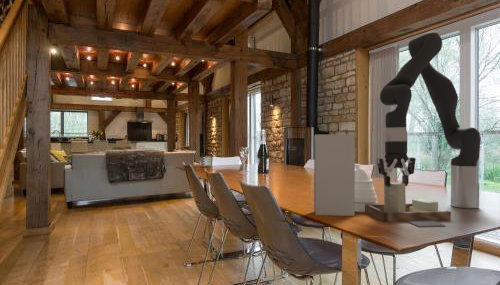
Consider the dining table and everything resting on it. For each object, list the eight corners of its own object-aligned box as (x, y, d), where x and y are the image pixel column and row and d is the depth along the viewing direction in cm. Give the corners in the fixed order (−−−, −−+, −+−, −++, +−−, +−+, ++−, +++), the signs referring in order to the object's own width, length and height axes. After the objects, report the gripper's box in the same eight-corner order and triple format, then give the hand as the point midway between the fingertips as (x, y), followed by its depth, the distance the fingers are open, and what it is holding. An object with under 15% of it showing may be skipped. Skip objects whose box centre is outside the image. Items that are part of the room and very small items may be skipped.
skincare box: (406, 217, 118) (406, 183, 118) (398, 218, 116) (398, 184, 116) (391, 213, 124) (391, 181, 124) (383, 214, 121) (383, 182, 121)
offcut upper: (422, 206, 125) (422, 198, 125) (438, 210, 118) (438, 202, 118) (412, 207, 123) (412, 199, 123) (427, 211, 117) (427, 202, 117)
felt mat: (431, 221, 112) (431, 219, 112) (445, 226, 105) (445, 225, 105) (406, 221, 111) (406, 220, 111) (418, 227, 104) (418, 225, 104)
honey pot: (337, 207, 136) (337, 164, 136) (361, 204, 141) (361, 163, 141) (359, 213, 124) (359, 166, 124) (384, 210, 130) (384, 165, 129)
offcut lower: (426, 214, 125) (426, 206, 125) (442, 219, 116) (442, 211, 116) (409, 214, 125) (409, 206, 125) (424, 220, 116) (424, 211, 116)
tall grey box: (351, 212, 126) (351, 134, 125) (354, 215, 120) (355, 134, 120) (314, 211, 127) (314, 134, 127) (315, 214, 121) (315, 134, 121)
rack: (423, 210, 129) (423, 203, 129) (450, 220, 113) (450, 211, 113) (365, 212, 126) (365, 204, 126) (384, 221, 111) (384, 213, 111)
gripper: (408, 139, 123) (408, 184, 124) (372, 140, 122) (372, 185, 122) (420, 139, 116) (421, 187, 116) (382, 140, 115) (382, 188, 115)
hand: (396, 185), depth 119 cm, fingers open, 6 cm apart
